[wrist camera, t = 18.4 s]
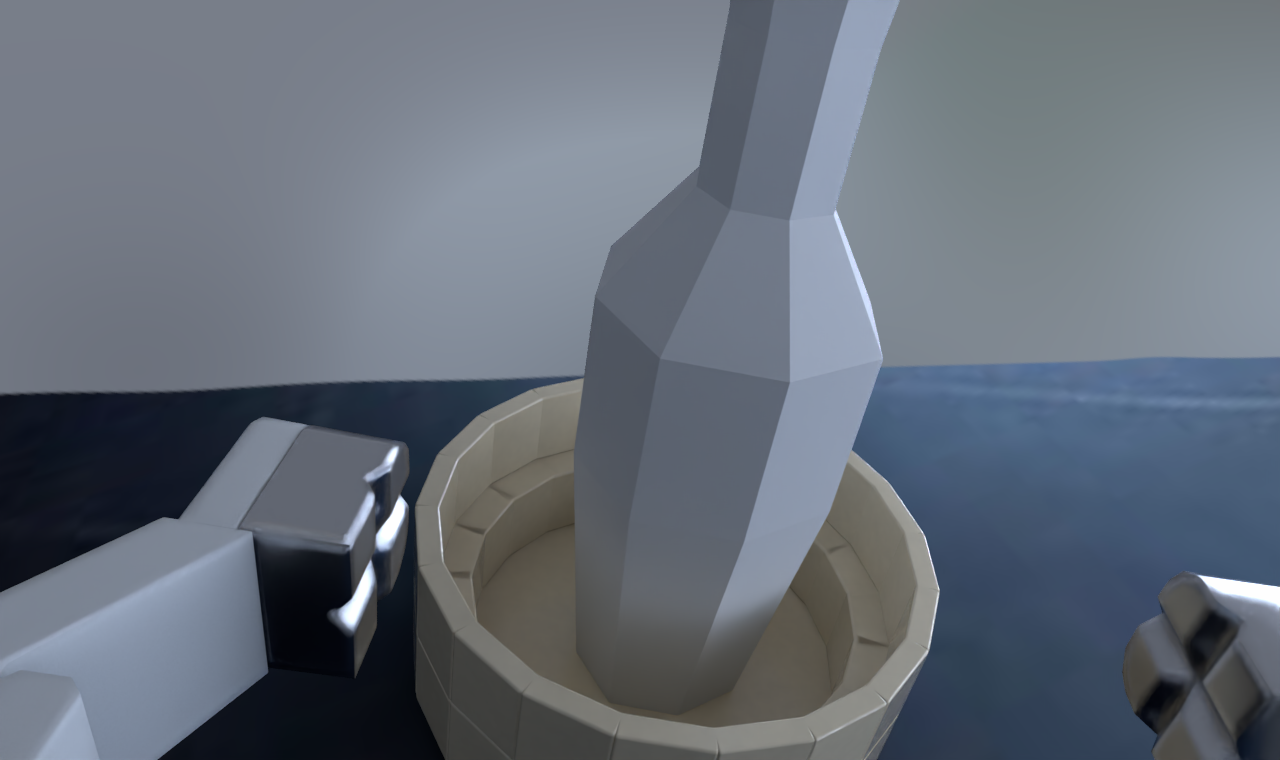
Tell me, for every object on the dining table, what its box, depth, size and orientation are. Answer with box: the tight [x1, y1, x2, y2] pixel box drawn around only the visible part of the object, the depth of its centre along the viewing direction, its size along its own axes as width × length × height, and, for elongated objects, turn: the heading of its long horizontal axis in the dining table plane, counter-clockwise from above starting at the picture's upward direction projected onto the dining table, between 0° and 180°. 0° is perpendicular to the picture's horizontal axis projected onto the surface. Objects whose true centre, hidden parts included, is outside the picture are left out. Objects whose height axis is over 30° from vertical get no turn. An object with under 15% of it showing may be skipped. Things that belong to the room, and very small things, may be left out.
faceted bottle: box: [574, 0, 899, 715], centre depth 20 cm, size 6×6×22 cm
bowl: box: [413, 378, 939, 760], centre depth 25 cm, size 13×13×6 cm
